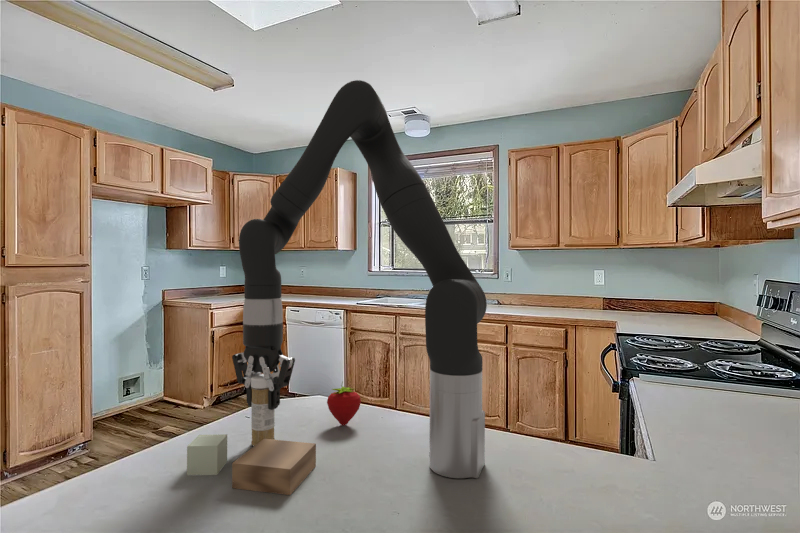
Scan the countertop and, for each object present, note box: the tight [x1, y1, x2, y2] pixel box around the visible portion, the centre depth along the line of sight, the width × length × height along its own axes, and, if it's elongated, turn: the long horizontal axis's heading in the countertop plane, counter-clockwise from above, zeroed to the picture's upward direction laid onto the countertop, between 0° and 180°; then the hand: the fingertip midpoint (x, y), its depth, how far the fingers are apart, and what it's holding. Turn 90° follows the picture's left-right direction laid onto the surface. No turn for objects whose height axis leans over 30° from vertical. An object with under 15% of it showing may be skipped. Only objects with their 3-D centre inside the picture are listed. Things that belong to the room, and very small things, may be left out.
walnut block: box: [231, 439, 317, 496], centre depth 73 cm, size 10×10×4 cm
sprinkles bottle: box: [251, 373, 276, 447], centre depth 87 cm, size 5×5×14 cm
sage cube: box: [186, 434, 228, 476], centre depth 76 cm, size 5×5×5 cm
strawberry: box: [326, 381, 362, 426], centre depth 97 cm, size 6×8×10 cm
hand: (262, 406), depth 87 cm, fingers closed on sprinkles bottle, 4 cm apart
